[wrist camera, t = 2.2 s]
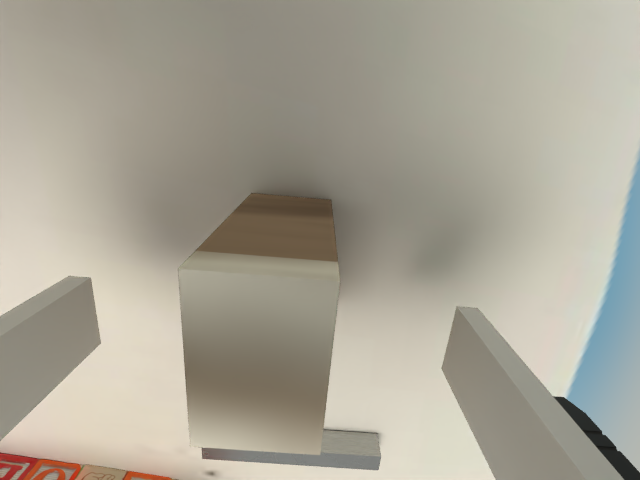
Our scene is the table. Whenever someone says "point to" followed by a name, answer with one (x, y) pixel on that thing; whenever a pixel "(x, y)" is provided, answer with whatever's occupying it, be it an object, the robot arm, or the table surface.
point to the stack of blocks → (62, 470)
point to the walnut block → (261, 326)
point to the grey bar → (335, 452)
